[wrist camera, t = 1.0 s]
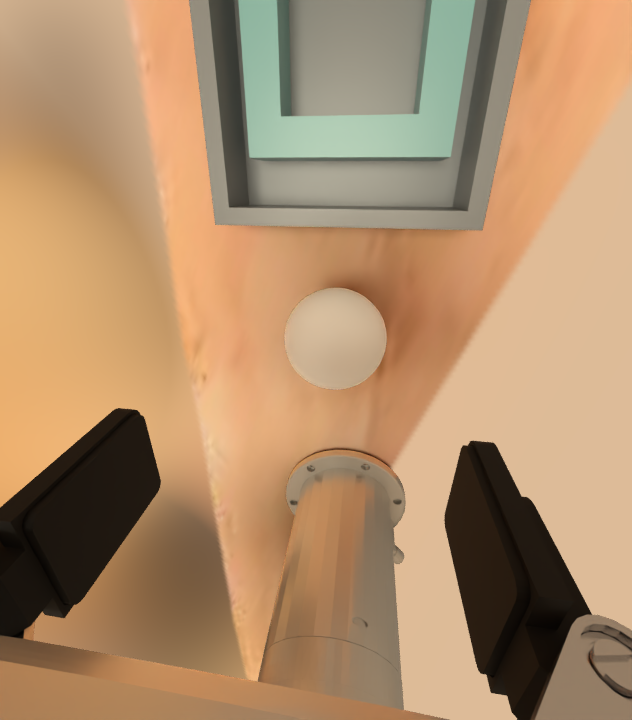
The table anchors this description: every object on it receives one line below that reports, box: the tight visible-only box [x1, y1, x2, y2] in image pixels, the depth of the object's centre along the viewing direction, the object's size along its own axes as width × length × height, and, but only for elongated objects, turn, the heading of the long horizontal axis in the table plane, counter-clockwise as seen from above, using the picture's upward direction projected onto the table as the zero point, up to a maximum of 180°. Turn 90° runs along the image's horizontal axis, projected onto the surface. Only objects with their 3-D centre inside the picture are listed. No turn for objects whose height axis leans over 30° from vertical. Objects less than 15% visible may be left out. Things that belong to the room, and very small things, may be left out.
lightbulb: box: [284, 288, 387, 390], centre depth 23 cm, size 6×6×11 cm
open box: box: [189, 0, 531, 230], centre depth 19 cm, size 19×16×5 cm
